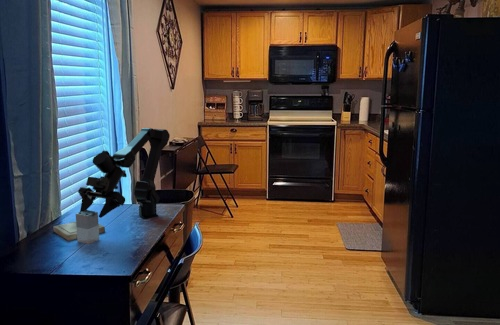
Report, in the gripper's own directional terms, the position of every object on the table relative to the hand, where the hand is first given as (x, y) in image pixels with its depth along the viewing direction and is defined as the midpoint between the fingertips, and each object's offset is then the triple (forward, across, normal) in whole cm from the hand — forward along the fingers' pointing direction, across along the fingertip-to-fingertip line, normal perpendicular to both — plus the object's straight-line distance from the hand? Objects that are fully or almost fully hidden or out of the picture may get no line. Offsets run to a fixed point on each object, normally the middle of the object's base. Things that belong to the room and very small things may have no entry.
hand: (90, 215), depth 149 cm
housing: (+7, 0, +5) cm, 9 cm away
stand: (+3, -11, +9) cm, 14 cm away
